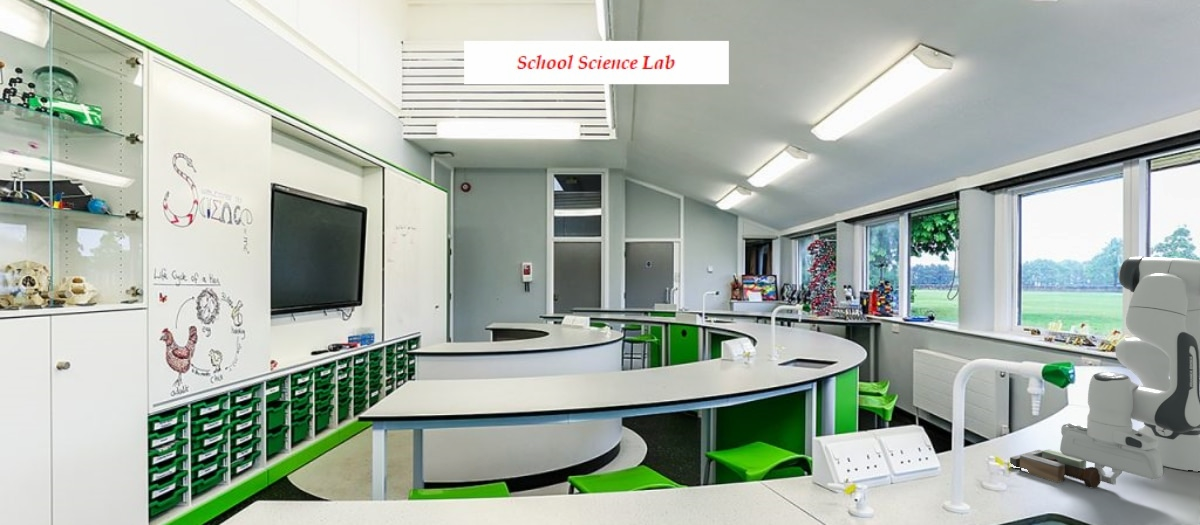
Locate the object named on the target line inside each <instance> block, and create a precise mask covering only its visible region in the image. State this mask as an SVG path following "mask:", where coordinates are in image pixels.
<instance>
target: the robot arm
mask: <svg viewBox="0 0 1200 525" xmlns="http://www.w3.org/2000/svg"><path fill="white" fill-rule="evenodd" d="M1117 275H1118V276H1117V278H1118V279H1119V284H1120V285H1121V286H1122V287H1123V288H1124V289H1127V290H1129V291H1130V293H1132V295H1131V298H1130V301H1129V305H1128V309H1127V313H1126V319H1125V325H1126V327H1127V329H1128V331H1129V332H1130V333H1131V334H1132V335H1133V336H1134V337H1125V338H1123V339H1122V340H1120V341H1119V342H1118V343H1117V344H1116V347H1115V351H1114V354H1115V356H1116V359H1117V361H1118V362H1119V363H1120V364H1121V365H1122V366H1124V368H1127V369H1128V370H1129V371H1131V372H1132V373H1133V374H1134V375H1135V376H1136V377H1137V378H1138V380H1139V381H1140V383H1141V385H1140V384H1137V383H1135V382H1133V381H1132V380H1131V378H1130V376H1128V375H1127V374H1124V373H1119V372H1110V371H1105V372H1104V371H1101V372H1097V373H1094V374H1092V376H1091V379H1090V380H1089V385H1088V391H1087V392H1088V393H1087V404H1088V408H1089V412H1088V414H1087V418H1086V420H1087V421H1086V424H1087V425H1086V426H1083V425H1078V424H1074V423H1066V424H1065V423H1064V424H1063V425H1061V427H1060V428H1061V430H1060V433H1061V436H1062V438H1061V441H1060V446H1059V452H1061V453H1062V454H1063V455H1066V456H1070V457H1074V458H1077V459H1081V460H1084V461H1086V462H1089V463H1092V464H1094V467H1095V468H1097V469H1098V473H1099V475H1100V481H1101V482H1102V483H1106V484H1110V485H1113V486H1115V485H1116V483H1117V478H1118V477H1119V476H1120V475H1121V474H1122V473H1123V472H1125V473H1128V474H1132V475H1135V476H1139V477H1143V478H1146V479H1150V480H1154V481H1155V480H1158V479H1161V478H1162V477H1163V475H1164V469H1163V468H1164V467H1167V468H1171V469H1177V470H1183V471H1188V470H1193V471H1192V472H1198V471H1200V260H1198V259H1194V258H1193V259H1191V258H1185V257H1183V258H1182V257H1146V256H1145V257H1144V256H1131V257H1128V258H1127V259H1125V260H1124V261H1123V262H1122V264H1121V266H1119V269H1118V272H1117ZM1132 420H1134V421H1137V422H1141V423H1143V425H1144V426H1143V427H1141V428H1139V429H1137V430H1136V429H1134V428H1133V422H1132ZM1105 467H1106V468H1110V469H1111V473H1113V474H1112V475H1108V474H1106V472H1105V470H1104V469H1103V468H1105Z"/></svg>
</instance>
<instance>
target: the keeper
mask: <svg viewBox="0 0 1200 525" xmlns="http://www.w3.org/2000/svg"><path fill="white" fill-rule="evenodd" d="M1037 456H1040V457H1037ZM1041 457H1043V458H1041ZM1046 457H1054V458H1056V459H1057V460H1058V462H1061V463H1064V464H1061V463H1058V462H1055V461H1051V460H1048V459H1044V458H1046ZM1010 463H1011V464H1013V465H1014V466H1016V467H1020V468H1024V469H1027V470H1028V472H1029V473H1028V474H1029V475H1033V476H1035V475H1036V476H1035V477H1039V478H1041V477H1042V479H1046V480H1048V479H1049V480H1048V481H1052V482H1054V481H1055V482H1054V483H1057V482H1058V483H1060V481H1061V482H1063V480H1064V481H1065V476H1066V475H1065V464H1068V465H1071V466H1075V467H1078V468H1083V469H1086V468H1087V461H1084V460H1081V459H1077V458H1074V457H1070V456H1066V455H1063V454H1062V452H1061V451H1056V450H1053V449H1044V450H1042V449H1036V450H1033V451H1028V452H1025V453H1022V454H1018V455H1015V456H1010V458H1009V464H1010ZM1020 468H1019V469H1020Z"/></svg>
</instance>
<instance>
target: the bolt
mask: <svg viewBox="0 0 1200 525" xmlns="http://www.w3.org/2000/svg"><path fill="white" fill-rule="evenodd" d="M1037 457H1040V456H1037ZM1041 458H1043V457H1041ZM1044 459H1048V460H1051V461H1055V462H1058V460H1057V459H1056V458H1054V457H1046V458H1044ZM1058 463H1061V462H1058ZM1061 464H1064V463H1061ZM1065 476H1066V477H1068V478H1069V477H1070V478H1073V479H1076V480H1080V481H1082V482H1084V484H1085V487H1087V486H1088V487H1087V488H1090V487H1091V489H1096V488H1098V486H1100V484H1101V482H1102V481H1100V475H1099V473H1098V469H1097V468H1095V466H1089V467H1086V469H1083V468H1078V467H1075V466H1071V465H1068V464H1065Z"/></svg>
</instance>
